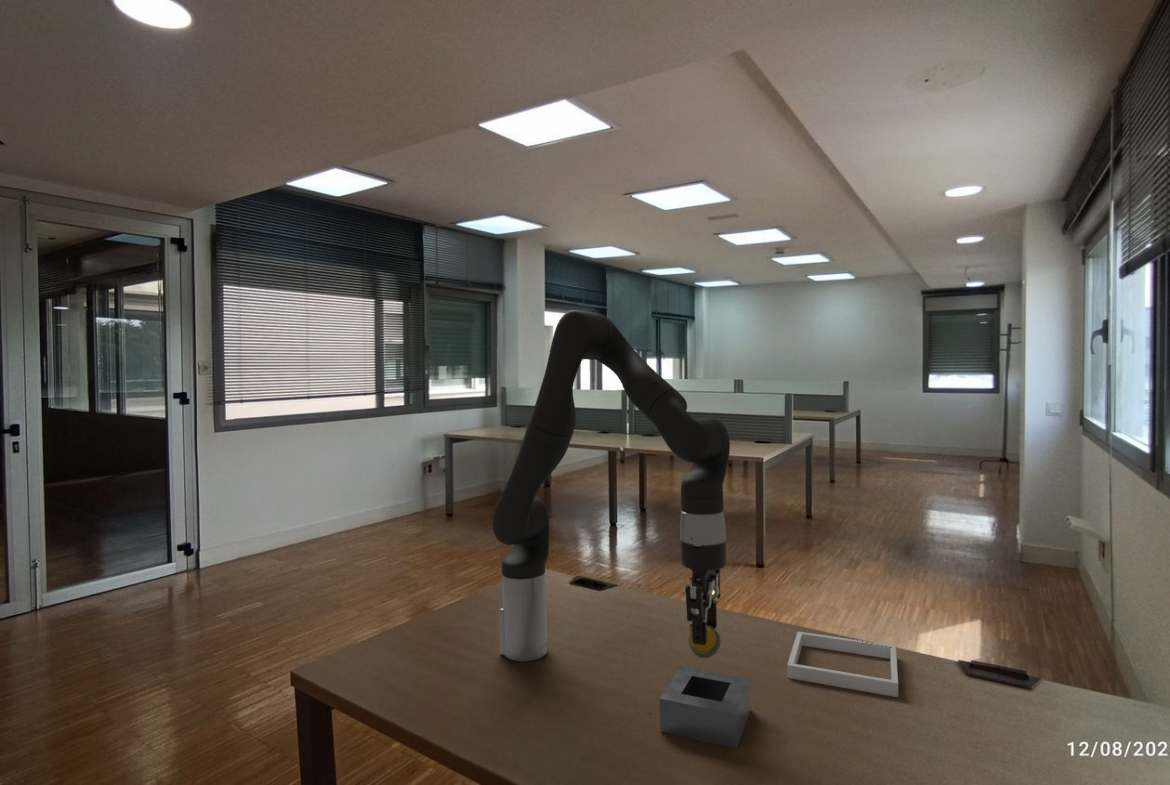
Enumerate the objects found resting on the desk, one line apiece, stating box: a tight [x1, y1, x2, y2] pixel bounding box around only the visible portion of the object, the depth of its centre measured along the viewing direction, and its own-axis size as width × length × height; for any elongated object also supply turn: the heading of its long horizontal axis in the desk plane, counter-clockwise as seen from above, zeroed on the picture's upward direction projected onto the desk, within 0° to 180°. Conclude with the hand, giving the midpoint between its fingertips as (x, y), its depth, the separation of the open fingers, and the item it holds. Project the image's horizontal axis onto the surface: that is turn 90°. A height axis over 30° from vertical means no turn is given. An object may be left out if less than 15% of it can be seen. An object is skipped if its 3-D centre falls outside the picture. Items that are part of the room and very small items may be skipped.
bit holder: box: [659, 665, 752, 750], centre depth 106 cm, size 12×12×6 cm
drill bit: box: [688, 623, 721, 659], centre depth 105 cm, size 5×5×10 cm
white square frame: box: [786, 631, 899, 698], centre depth 123 cm, size 19×17×2 cm
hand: (705, 635), depth 105 cm, fingers closed on drill bit, 6 cm apart
